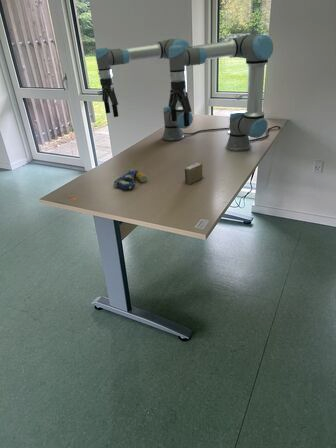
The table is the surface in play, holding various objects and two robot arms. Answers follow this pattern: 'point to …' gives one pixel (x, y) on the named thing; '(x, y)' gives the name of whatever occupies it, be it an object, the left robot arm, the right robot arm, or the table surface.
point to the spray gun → (129, 179)
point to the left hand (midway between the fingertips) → (112, 114)
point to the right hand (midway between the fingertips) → (180, 123)
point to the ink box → (193, 173)
